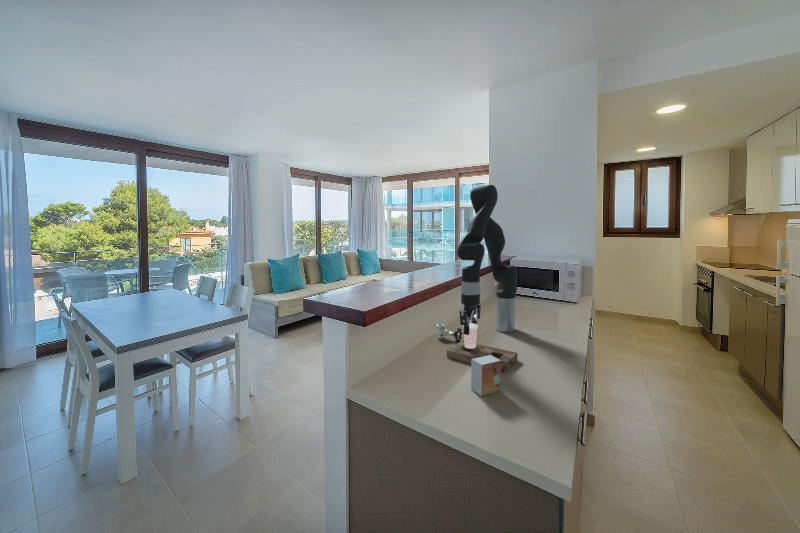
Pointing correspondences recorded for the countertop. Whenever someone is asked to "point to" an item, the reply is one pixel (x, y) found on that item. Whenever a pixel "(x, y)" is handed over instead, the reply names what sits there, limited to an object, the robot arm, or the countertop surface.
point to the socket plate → (482, 354)
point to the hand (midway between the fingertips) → (470, 332)
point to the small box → (486, 375)
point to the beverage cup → (471, 336)
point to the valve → (442, 332)
